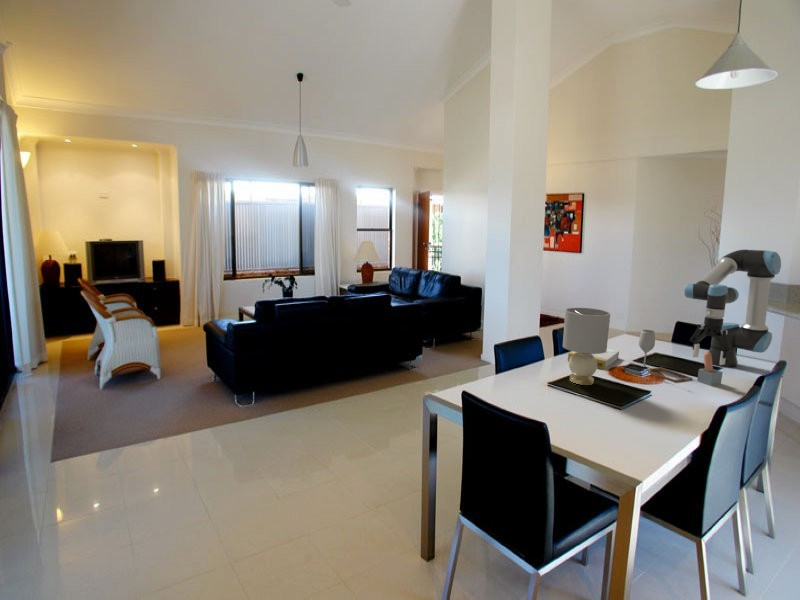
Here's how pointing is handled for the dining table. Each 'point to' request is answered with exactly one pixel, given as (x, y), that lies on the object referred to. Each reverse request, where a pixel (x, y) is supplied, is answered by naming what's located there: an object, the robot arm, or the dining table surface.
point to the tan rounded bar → (708, 362)
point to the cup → (709, 377)
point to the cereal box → (602, 358)
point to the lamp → (585, 341)
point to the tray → (658, 370)
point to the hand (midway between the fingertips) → (708, 360)
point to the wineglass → (647, 342)
